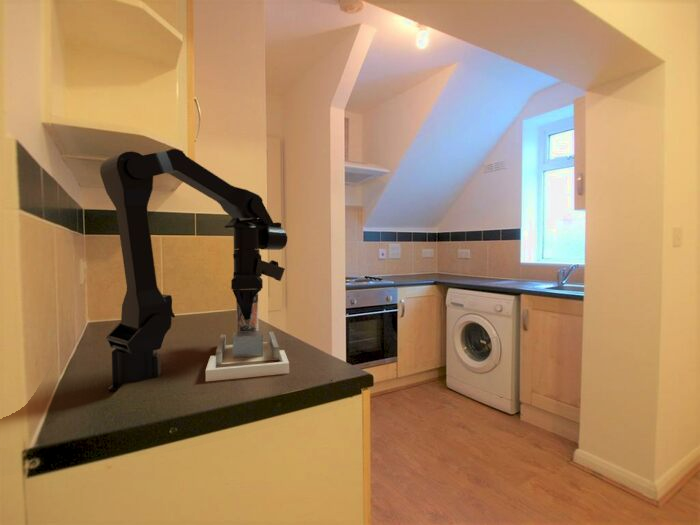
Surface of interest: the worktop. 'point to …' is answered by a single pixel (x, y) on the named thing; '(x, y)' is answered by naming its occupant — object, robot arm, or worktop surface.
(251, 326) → the beer can
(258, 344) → the grey block
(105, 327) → the worktop surface
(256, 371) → the tray
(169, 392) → the worktop surface
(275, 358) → the slot plate
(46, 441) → the worktop surface
